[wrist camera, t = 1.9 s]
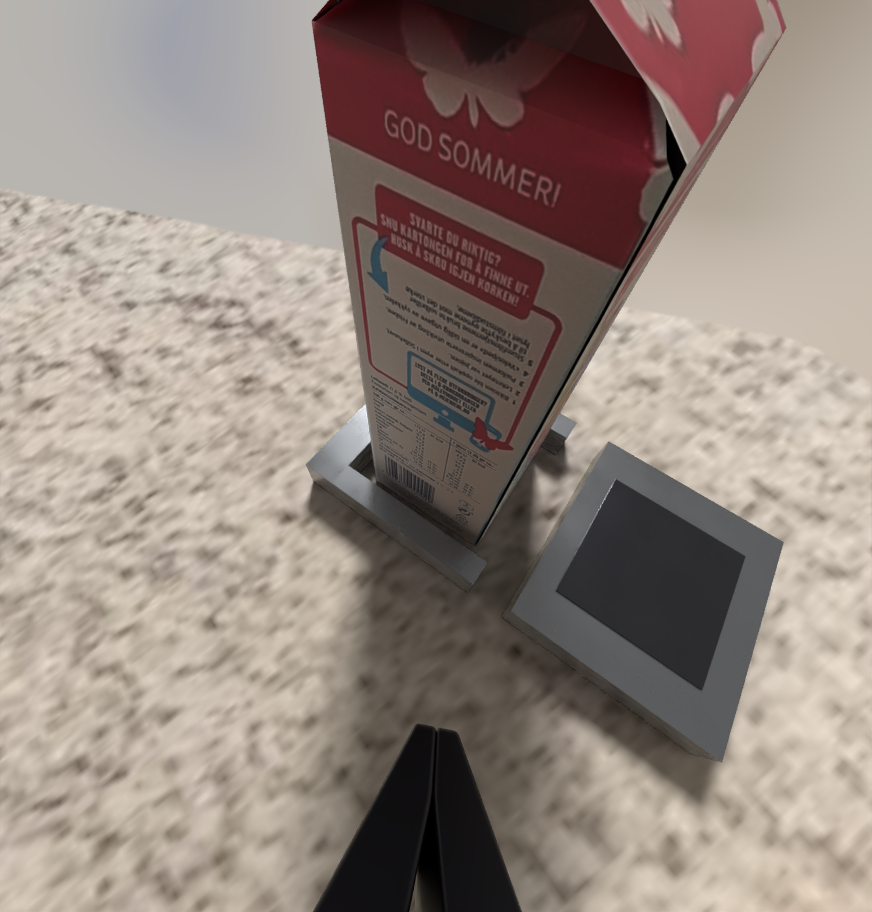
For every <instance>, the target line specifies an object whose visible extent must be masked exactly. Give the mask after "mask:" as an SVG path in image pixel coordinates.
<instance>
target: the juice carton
mask: <svg viewBox="0 0 872 912" xmlns="http://www.w3.org/2000/svg"><path fill="white" fill-rule="evenodd" d="M312 27H313V34H314V41H315V48H316V56H317V63H318V69H319V77H320V84H321V91H322V98H323V105H324V112H325V118H326V119H325V120H326V127H327V133H328V140H329V148H330V154H331V162H332V169H333V176H334V184H335V190H336V198H337V204H338V212H339V218H340V225H341V233H342V240H343V247H344V255H345V262H346V269H347V275H348V281H349V288H350V295H351V303H352V310H353V318H354V325H355V333H356V340H357V347H358V354H359V361H360V368H361V375H362V382H363V390H364V397H365V404H366V411H367V418H368V425H369V432H370V439H371V446H372V454H373V461H374V468H375V475H376V480H377V481H378V482H380V483H381V484H383V485H384V486H386V487H387V488H389V489H390V490H392V491H393V492H395V493H396V494H398V495H399V496H401V497H402V498H404V499H405V500H407V501H408V502H410V503H411V504H413V505H414V506H416V507H417V508H419V509H420V510H422V511H423V512H425V513H426V514H428V515H429V516H431V517H432V518H434V519H435V520H437V521H438V522H440V523H441V524H443V525H444V526H446V527H447V528H449V529H450V530H452V531H453V532H455V533H456V534H458V535H459V536H461V537H462V538H464V539H465V540H467V541H468V542H470V543H471V544H473V545H474V546H477V545H478V543H479V542H480V540H481V539H482V537H483V536H484V534H485V532H486V531H487V529H488V528H489V526H490V525H491V523H492V521H493V520H494V518H495V517H496V515H497V514H498V512H499V511H500V509H501V507H502V506H503V504H504V503H505V501H506V500H507V498H508V497H509V495H510V493H511V492H512V490H513V489H514V487H515V486H516V484H517V483H518V481H519V479H520V478H521V476H522V475H523V473H524V472H525V470H526V468H527V467H528V465H529V464H530V462H531V461H532V459H533V458H534V456H535V454H536V453H537V451H538V449H539V447H540V446H541V444H542V442H543V441H544V439H545V437H546V436H547V434H548V432H549V430H550V429H551V427H552V425H553V424H554V422H555V420H556V419H557V417H558V415H559V413H560V412H561V410H562V408H563V407H564V405H565V403H566V402H567V400H568V398H569V396H570V395H571V393H572V391H573V390H574V388H575V386H576V385H577V383H578V381H579V379H580V378H581V376H582V374H583V373H584V371H585V369H586V368H587V366H588V364H589V362H590V361H591V359H592V357H593V356H594V354H595V352H596V351H597V349H598V347H599V345H600V344H601V342H602V340H603V339H604V337H605V335H606V334H607V332H608V330H609V328H610V327H611V325H612V323H613V322H614V320H615V318H616V317H617V315H618V313H619V311H620V310H621V308H622V306H623V305H624V303H625V301H626V299H627V298H628V296H629V294H630V293H631V291H632V289H633V288H634V286H635V284H636V283H637V281H638V279H639V277H640V276H641V274H642V272H643V271H644V269H645V267H646V266H647V264H648V262H649V260H650V259H651V257H652V255H653V254H654V252H655V250H656V249H657V247H658V245H659V243H660V242H661V240H662V238H663V236H664V235H665V233H666V232H667V230H668V228H669V226H670V225H671V223H672V221H673V219H674V218H675V216H676V214H677V213H678V211H679V209H680V208H681V206H682V204H683V203H684V201H685V199H686V197H687V196H688V194H689V192H690V191H691V189H692V187H693V186H694V184H695V182H696V181H697V179H698V177H699V175H700V174H701V172H702V170H703V169H704V167H705V165H706V164H707V162H708V160H709V158H710V157H711V155H712V153H713V152H714V150H715V148H716V146H717V145H718V143H719V141H720V140H721V138H722V136H723V135H724V133H725V131H726V129H727V128H728V126H729V124H730V123H731V121H732V119H733V118H734V116H735V114H736V113H737V111H738V109H739V107H740V106H741V104H742V102H743V101H744V99H745V97H746V95H747V94H748V92H749V90H750V88H751V87H752V85H753V84H754V82H755V80H756V78H757V77H758V75H759V73H760V72H761V70H762V68H763V67H764V65H765V63H766V61H767V60H768V58H769V56H770V55H771V53H772V51H773V50H774V48H775V46H776V44H777V43H778V41H779V39H780V38H781V36H782V34H783V33H784V31H785V29H786V25H785V22H784V19H783V16H782V13H781V10H780V7H779V4H778V1H777V0H329V1H328V2H327V3H326V5H325V6H324V7H323V8H322V9H321V10H320V12H319V13H318V14H317V15H316V16H315V17H314V18H313V20H312Z"/></svg>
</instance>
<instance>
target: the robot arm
mask: <svg viewBox="0 0 872 912" xmlns="http://www.w3.org/2000/svg"><path fill="white" fill-rule="evenodd" d="M415 881H416V883H415ZM414 885H415V912H522V911H521V908H520V905H519V902H518V900H517V897H516V894H515V891H514V888H513V886H512V883H511V880H510V877H509V874H508V872H507V869H506V866H505V863H504V860H503V858H502V855H501V852H500V849H499V846H498V844H497V841H496V838H495V835H494V832H493V830H492V827H491V824H490V821H489V818H488V816H487V813H486V810H485V807H484V804H483V802H482V799H481V796H480V793H479V790H478V788H477V785H476V782H475V779H474V776H473V774H472V771H471V768H470V765H469V762H468V760H467V757H466V754H465V751H464V748H463V746H462V743H461V740H460V737H459V735H458V733H457V732H456V731H452V730H448V729H443V728H439V729H437V730H436V729H435V728H434V727H433V726H428V725H423V724H416V725H415V726H414V728H413V730H412V731H411V733H410V735H409V737H408V739H407V740H406V742H405V744H404V746H403V748H402V750H401V751H400V753H399V755H398V757H397V759H396V761H395V762H394V764H393V766H392V768H391V770H390V772H389V773H388V775H387V777H386V779H385V781H384V783H383V784H382V786H381V788H380V790H379V792H378V794H377V795H376V797H375V799H374V801H373V803H372V805H371V806H370V808H369V810H368V812H367V814H366V816H365V817H364V819H363V821H362V823H361V825H360V827H359V828H358V830H357V832H356V834H355V836H354V837H353V839H352V841H351V843H350V845H349V847H348V848H347V850H346V852H345V854H344V856H343V858H342V859H341V861H340V863H339V865H338V867H337V869H336V870H335V872H334V874H333V876H332V878H331V880H330V881H329V883H328V885H327V887H326V889H325V891H324V892H323V894H322V896H321V898H320V900H319V902H318V903H317V905H316V907H315V909H314V911H313V912H409V910H410V905H411V900H412V895H413V890H414Z"/></svg>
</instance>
